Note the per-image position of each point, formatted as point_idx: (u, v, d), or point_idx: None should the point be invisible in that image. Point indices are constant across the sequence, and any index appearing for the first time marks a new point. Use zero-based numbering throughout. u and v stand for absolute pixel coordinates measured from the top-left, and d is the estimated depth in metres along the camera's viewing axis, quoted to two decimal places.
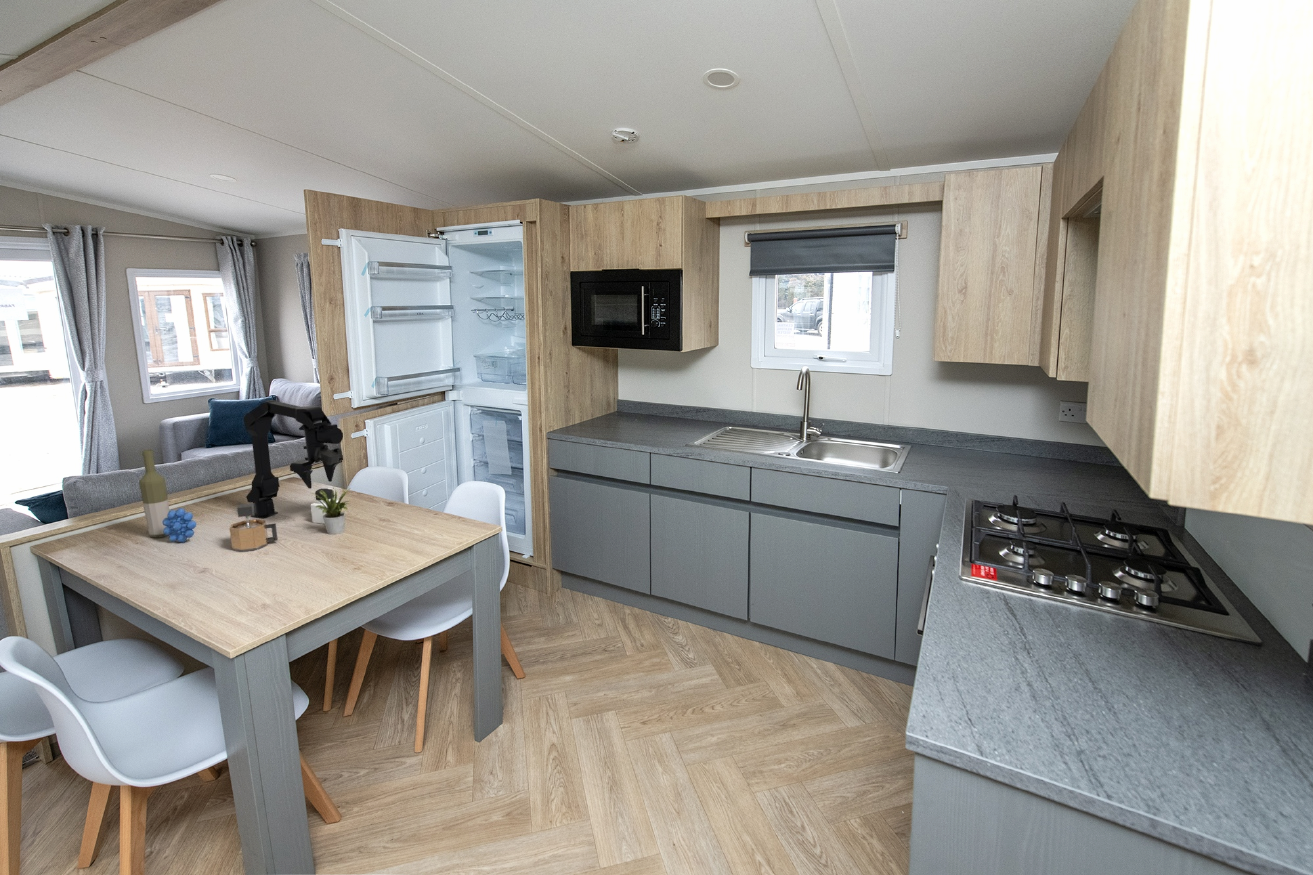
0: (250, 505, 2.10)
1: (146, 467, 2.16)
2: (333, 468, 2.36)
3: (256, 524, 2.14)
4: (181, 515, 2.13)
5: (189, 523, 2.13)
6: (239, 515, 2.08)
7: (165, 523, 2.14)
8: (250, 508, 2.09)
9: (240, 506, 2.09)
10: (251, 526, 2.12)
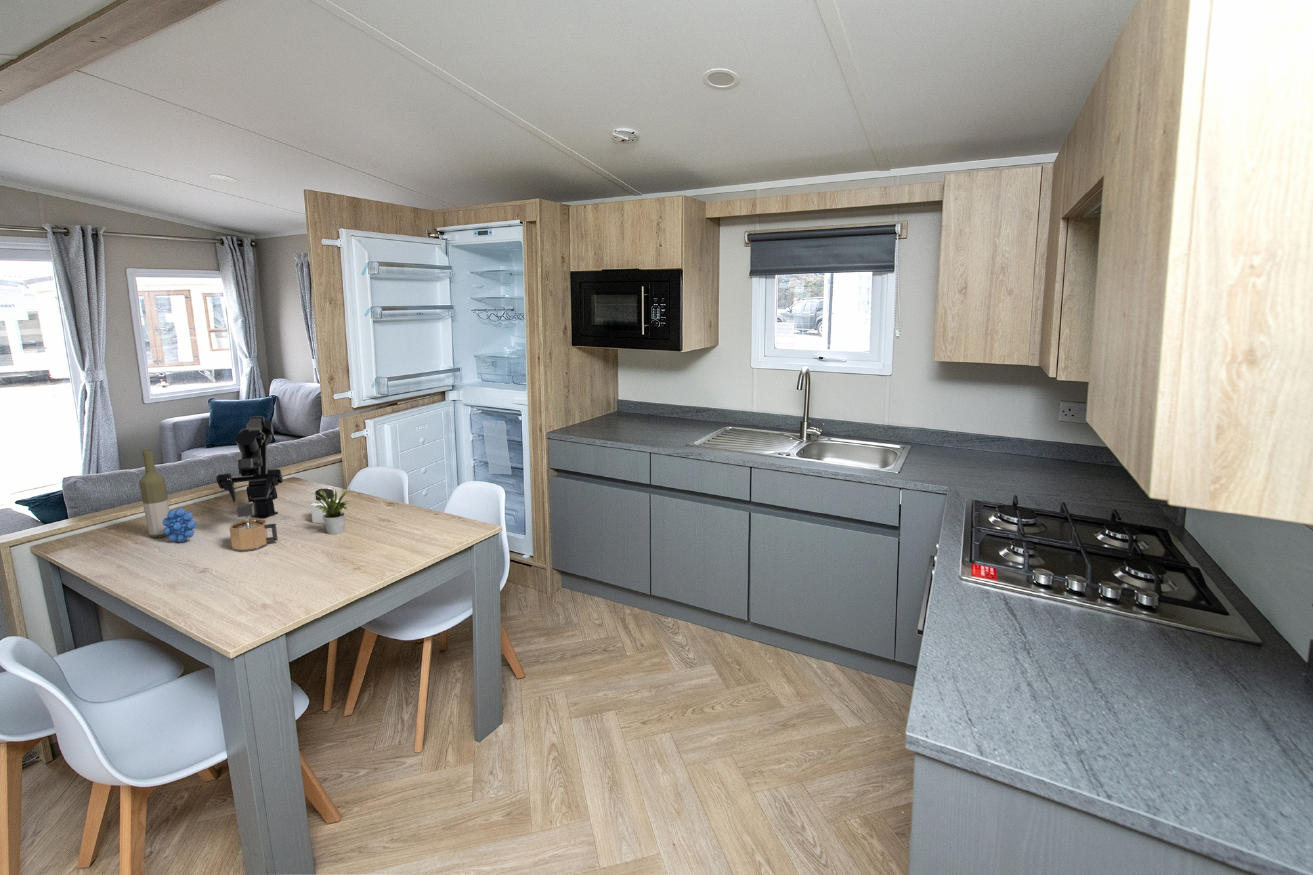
0: (250, 505, 2.10)
1: (146, 467, 2.16)
2: (268, 483, 2.21)
3: (256, 524, 2.14)
4: (181, 515, 2.13)
5: (189, 523, 2.13)
6: (239, 515, 2.08)
7: (165, 523, 2.14)
8: (250, 508, 2.09)
9: (240, 506, 2.09)
10: (251, 526, 2.12)
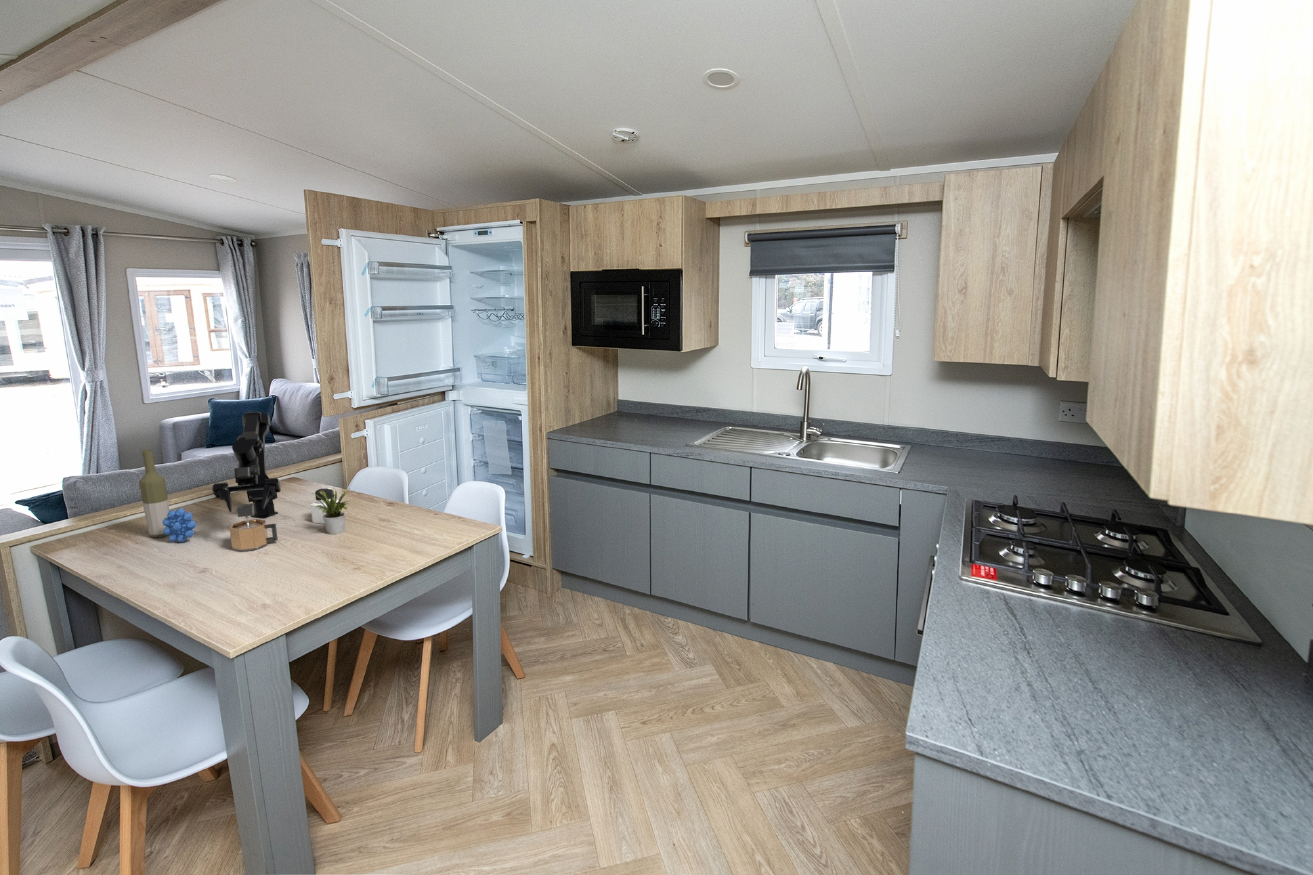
0: (250, 505, 2.10)
1: (146, 467, 2.16)
2: (265, 493, 2.15)
3: (256, 524, 2.14)
4: (181, 515, 2.13)
5: (189, 523, 2.13)
6: (239, 515, 2.08)
7: (165, 523, 2.14)
8: (250, 508, 2.09)
9: (240, 506, 2.09)
10: (251, 526, 2.12)
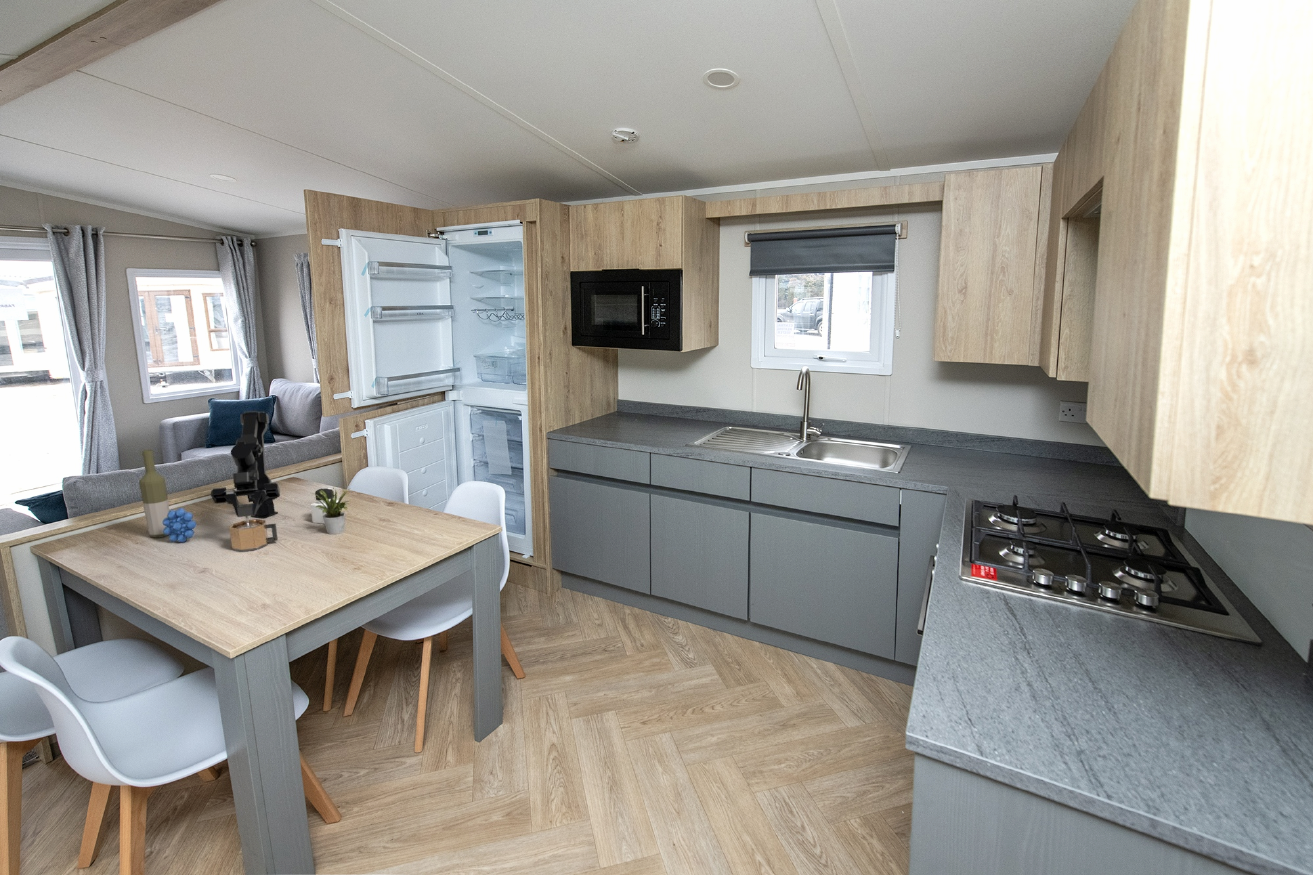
0: (250, 505, 2.10)
1: (146, 467, 2.16)
2: (255, 499, 2.12)
3: (256, 524, 2.14)
4: (181, 515, 2.13)
5: (189, 523, 2.13)
6: (239, 515, 2.08)
7: (165, 523, 2.14)
8: (250, 508, 2.09)
9: (240, 506, 2.09)
10: (251, 526, 2.12)
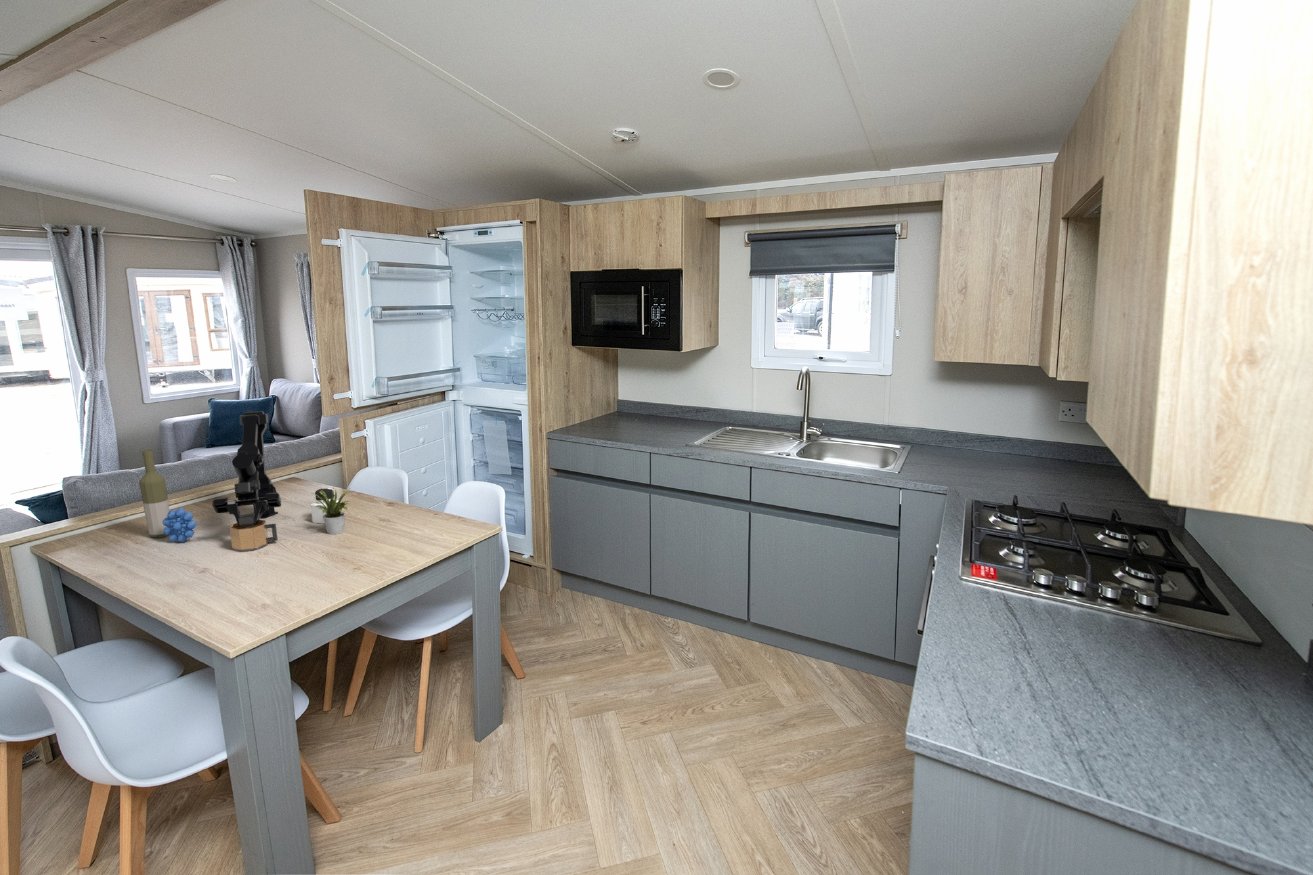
0: (251, 515, 2.11)
1: (146, 467, 2.16)
2: (257, 509, 2.13)
3: None
4: (181, 515, 2.13)
5: (189, 523, 2.13)
6: (240, 525, 2.09)
7: (165, 523, 2.14)
8: (251, 518, 2.10)
9: (241, 516, 2.10)
10: None
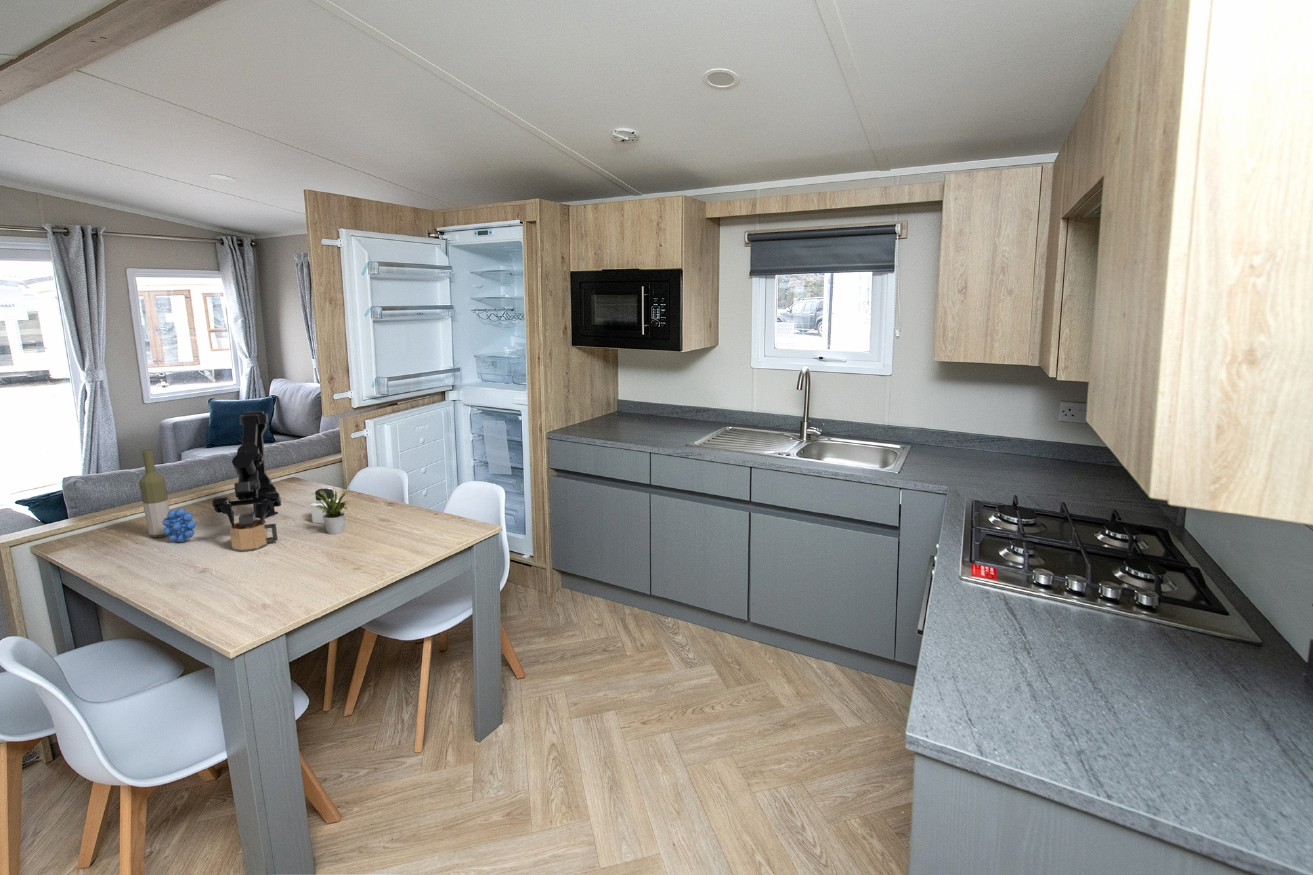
0: (251, 515, 2.11)
1: (146, 467, 2.16)
2: (263, 507, 2.13)
3: None
4: (181, 515, 2.13)
5: (189, 523, 2.13)
6: (240, 525, 2.09)
7: (165, 523, 2.14)
8: (251, 518, 2.10)
9: (241, 516, 2.10)
10: None
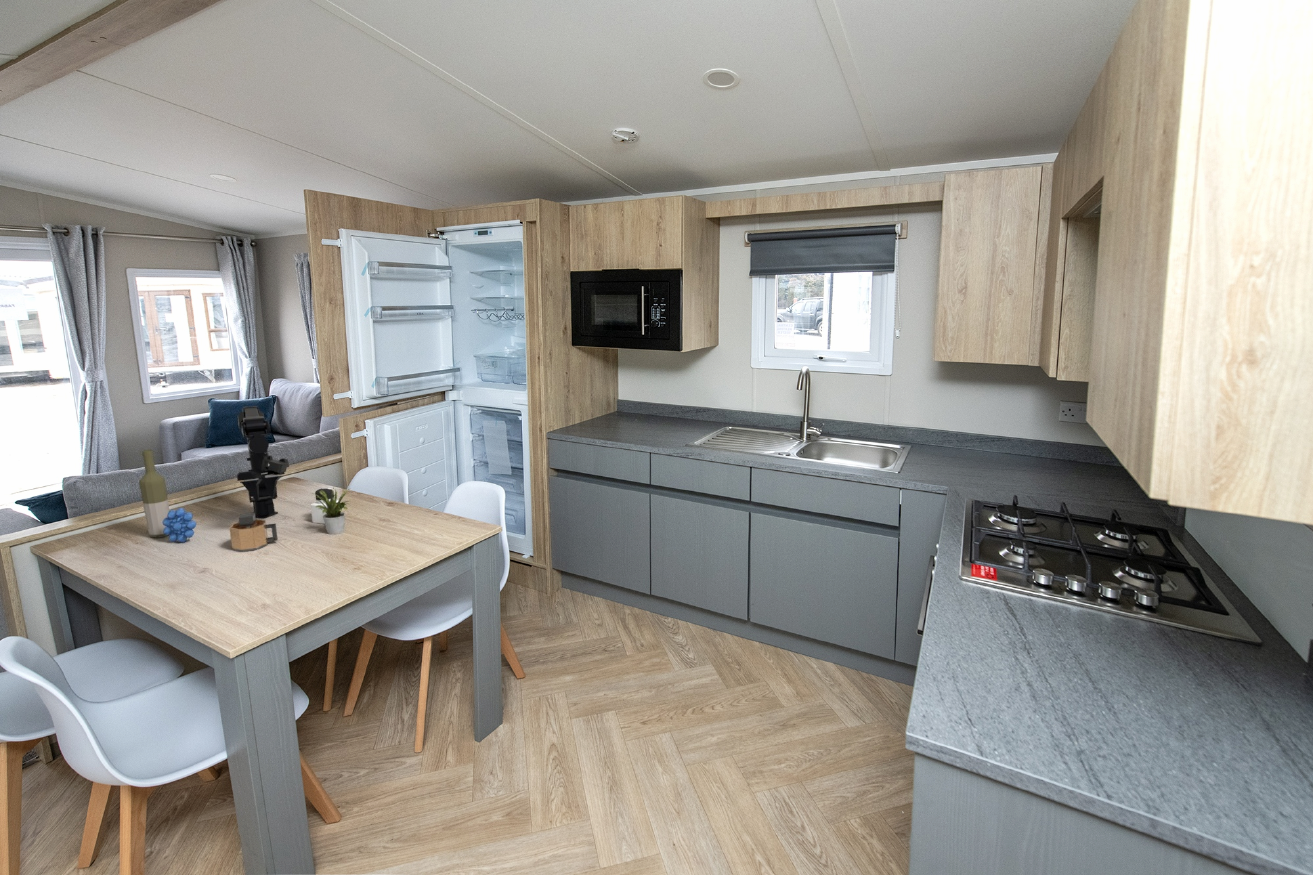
0: (251, 515, 2.11)
1: (146, 467, 2.16)
2: (275, 482, 2.30)
3: None
4: (181, 515, 2.13)
5: (189, 523, 2.13)
6: (240, 525, 2.09)
7: (165, 523, 2.14)
8: (251, 518, 2.10)
9: (241, 516, 2.10)
10: None
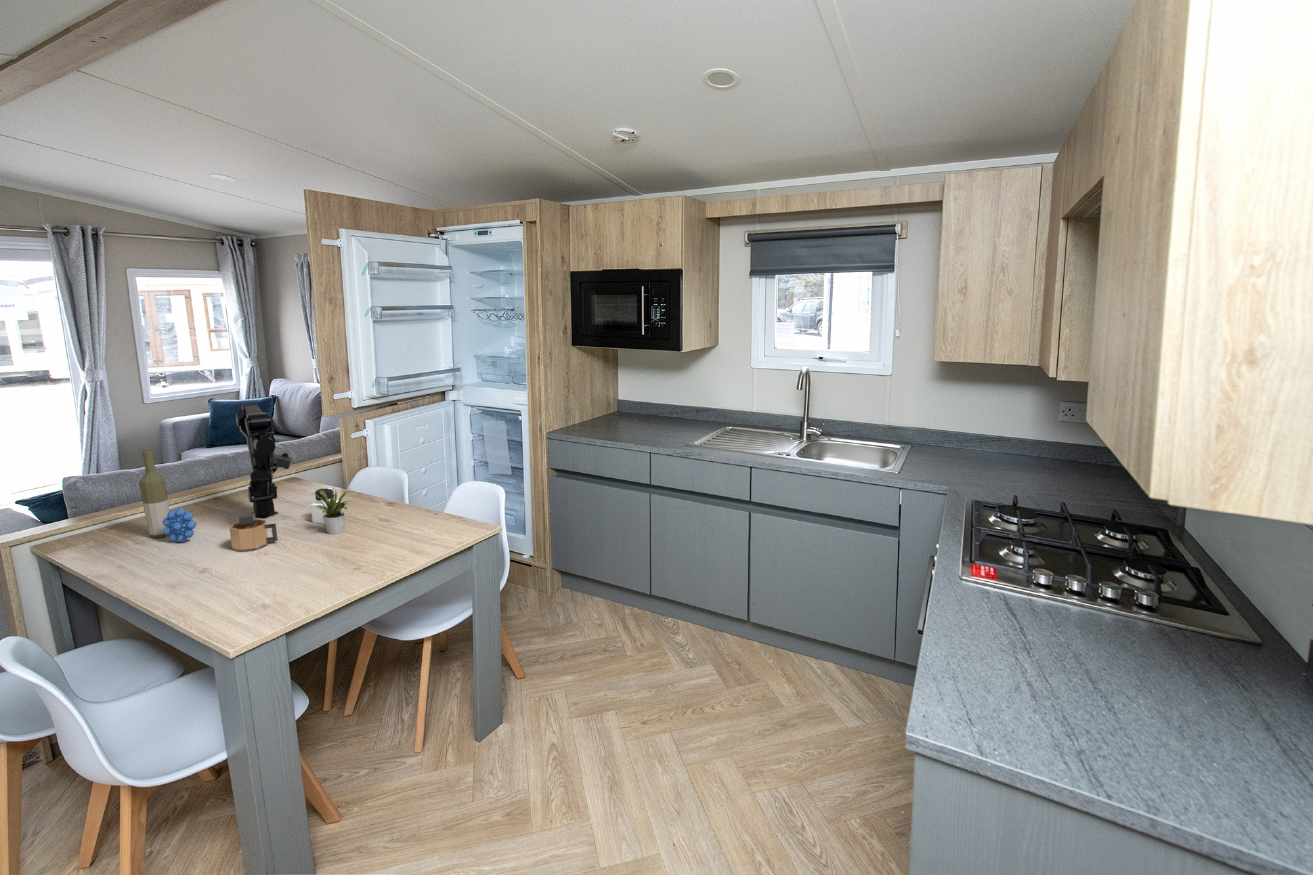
0: (251, 515, 2.11)
1: (146, 467, 2.16)
2: None
3: None
4: (181, 515, 2.13)
5: (189, 523, 2.13)
6: (240, 525, 2.09)
7: (165, 523, 2.14)
8: (251, 518, 2.10)
9: (241, 516, 2.10)
10: None
